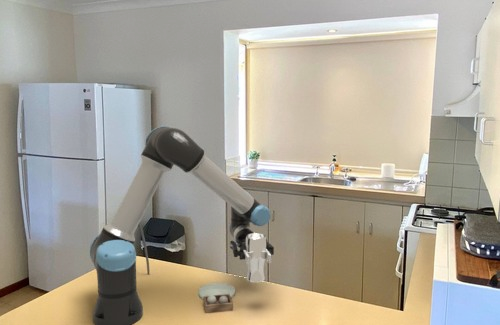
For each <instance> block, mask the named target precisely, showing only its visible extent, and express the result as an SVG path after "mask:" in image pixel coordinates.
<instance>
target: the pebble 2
mask: <svg viewBox="0 0 500 325" xmlns="http://www.w3.org/2000/svg"><path fill="white" fill-rule="evenodd" d="M221 303H228V298H227V297H226V296H221V297H220V298H219V304H221Z"/></svg>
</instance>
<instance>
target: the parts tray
mask: <svg viewBox="0 0 500 325" xmlns="http://www.w3.org/2000/svg"><path fill="white" fill-rule="evenodd" d="M213 296H215V297H216V300H217V301H216V303H215V304H211V305H209V304H208V303H207V298H208V297H209V296H203V299H202V300H203V308H204V311H205V314H211V313H220V312H231V311H232V312H233V310H234V302H233V300H232V298H231V297H230V294H223V295H213ZM221 296H226V297H227V298H228V303H221V304H219V298H220V297H221Z"/></svg>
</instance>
